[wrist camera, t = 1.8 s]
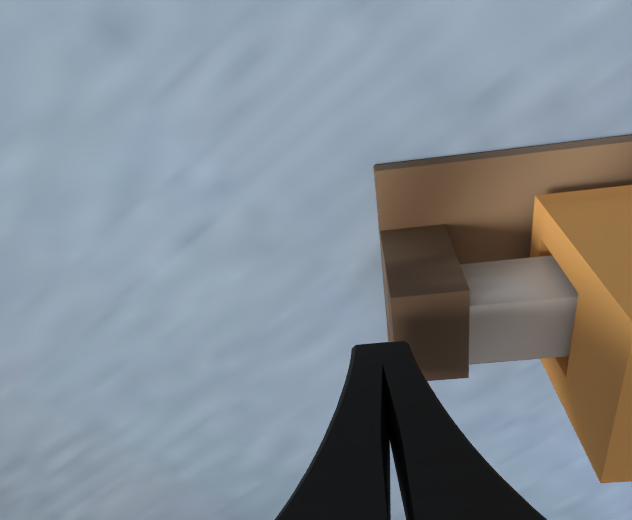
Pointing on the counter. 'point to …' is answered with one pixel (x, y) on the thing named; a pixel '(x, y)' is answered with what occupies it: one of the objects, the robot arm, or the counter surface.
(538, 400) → the counter surface
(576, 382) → the orange slider block
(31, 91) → the counter surface
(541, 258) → the wooden slider rail
